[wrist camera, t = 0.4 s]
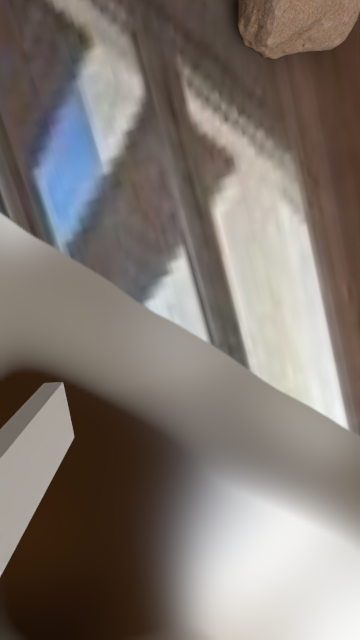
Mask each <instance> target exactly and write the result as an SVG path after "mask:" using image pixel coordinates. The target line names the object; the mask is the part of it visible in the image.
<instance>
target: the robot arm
mask: <svg viewBox="0 0 360 640" xmlns="http://www.w3.org/2000/svg"><path fill="white" fill-rule="evenodd" d="M73 439H74V433H73V428H72V423H71V419H70V414H69V409H68V405H67V399H66V395H65V390H64V385H63V383H62V382H59V383H44V384H43V385H42V386H41V387H40V388H39V389H38V391H36V392H35V394H34V395H33V396H32V397H31V398H30V399H29V400H28V401H27V402H26V403H25V404H24V405H23V406H22V407H21V408H20V409H19V410H18V411H17V412H16V414H15V415H14V416H13V417H12V418H11V419H10V420H9V421H8V422H7V423H6V424H5V425H4V426H3V427H2V428H1V429H0V576H1V574H2V572H3V571H4V568H5V567H6V565H7V563H8V561H9V559H10V557H11V555H12V553H13V552H14V550H15V548H16V546H17V544H18V542H19V540H20V538H21V537H22V535H23V533H24V531H25V529H26V527H27V525H28V523H29V521H30V520H31V518H32V516H33V514H34V512H35V510H36V508H37V506H38V504H39V502H40V501H41V499H42V497H43V495H44V493H45V491H46V489H47V487H48V486H49V484H50V482H51V480H52V478H53V476H54V474H55V472H56V471H57V469H58V467H59V465H60V463H61V461H62V459H63V457H64V455H65V454H66V452H67V450H68V448H69V445H70V444H71V442H72V440H73Z"/></svg>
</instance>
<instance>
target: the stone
mask: <svg viewBox="0 0 360 640" xmlns="http://www.w3.org/2000/svg"><path fill="white" fill-rule="evenodd" d="M359 12H360V0H239V13H238V14H239V21H238V26H239V31H240V34H241V35H242V37H243V41H244V43H245V45H246V46H249V47H251V48H253V49H254V50H255V51H258V52H260V53H261V54H262V55H263V56H264V58H265V57H270V58H279V57H281V56H284V55H288V54H294V53H297V52H306V51H323V50H330V49H333V48H334V47H336V46H338V45H340V44H341V43H342V42H343V41H344V40H345V39H346V38H347V36H348V35H349V33H350V31H351V29H352V28H353V26H354V24H355V22H356V21H357V19H358V15H359Z"/></svg>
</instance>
